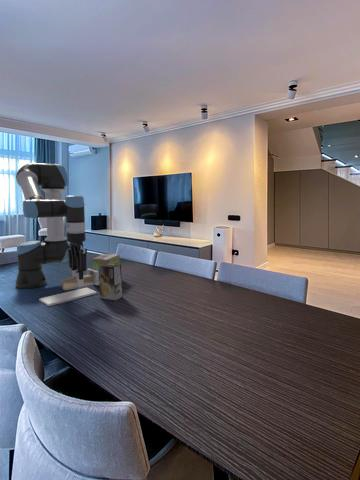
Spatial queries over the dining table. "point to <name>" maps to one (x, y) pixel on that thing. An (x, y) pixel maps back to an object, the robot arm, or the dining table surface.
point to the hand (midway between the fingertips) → (78, 285)
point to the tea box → (104, 260)
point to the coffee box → (110, 281)
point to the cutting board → (67, 296)
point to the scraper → (89, 279)
